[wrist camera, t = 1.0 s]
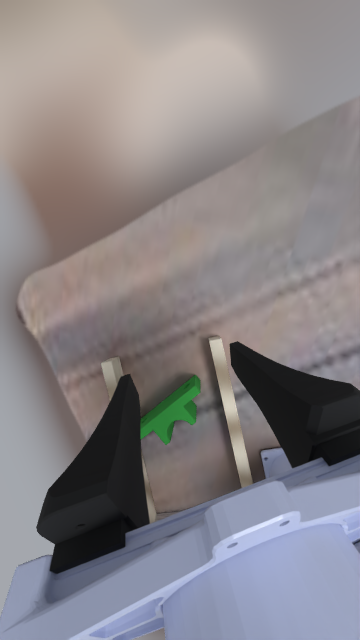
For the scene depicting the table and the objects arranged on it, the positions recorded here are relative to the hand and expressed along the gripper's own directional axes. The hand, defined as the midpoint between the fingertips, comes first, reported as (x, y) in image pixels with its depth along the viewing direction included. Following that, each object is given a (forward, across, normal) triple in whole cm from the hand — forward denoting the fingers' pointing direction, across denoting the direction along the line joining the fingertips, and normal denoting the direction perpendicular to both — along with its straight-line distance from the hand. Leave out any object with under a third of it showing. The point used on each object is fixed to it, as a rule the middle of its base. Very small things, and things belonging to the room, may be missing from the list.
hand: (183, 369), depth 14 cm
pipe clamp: (+9, +2, +15) cm, 17 cm away
